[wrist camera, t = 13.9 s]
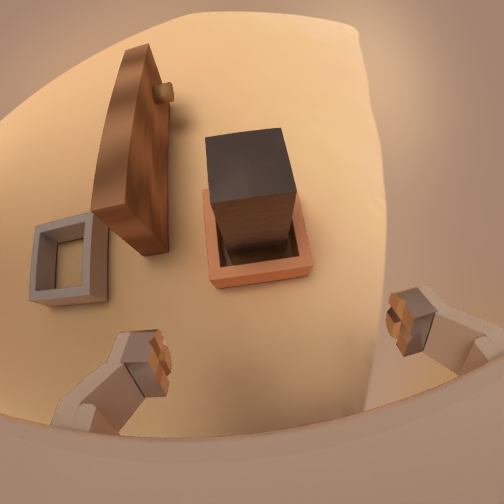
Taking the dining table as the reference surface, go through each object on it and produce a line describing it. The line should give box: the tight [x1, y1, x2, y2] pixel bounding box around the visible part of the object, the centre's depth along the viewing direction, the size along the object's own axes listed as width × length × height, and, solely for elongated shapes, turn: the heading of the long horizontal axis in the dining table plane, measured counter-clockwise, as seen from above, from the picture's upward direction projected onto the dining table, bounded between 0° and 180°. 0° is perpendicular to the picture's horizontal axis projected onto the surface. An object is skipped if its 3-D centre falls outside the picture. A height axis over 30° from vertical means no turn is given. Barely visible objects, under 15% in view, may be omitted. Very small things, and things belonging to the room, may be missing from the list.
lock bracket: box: [202, 189, 313, 289], centre depth 23 cm, size 7×7×3 cm
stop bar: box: [205, 128, 297, 266], centre depth 19 cm, size 4×4×11 cm
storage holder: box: [29, 212, 108, 307], centre depth 23 cm, size 7×7×3 cm
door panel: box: [90, 44, 174, 256], centre depth 23 cm, size 18×4×9 cm, turn 8°
